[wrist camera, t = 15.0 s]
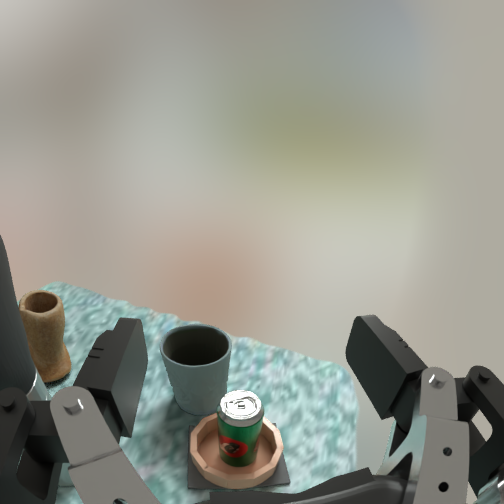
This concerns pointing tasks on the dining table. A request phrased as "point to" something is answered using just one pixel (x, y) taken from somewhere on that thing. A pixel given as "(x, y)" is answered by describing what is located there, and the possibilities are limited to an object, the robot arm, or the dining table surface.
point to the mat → (200, 482)
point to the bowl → (228, 476)
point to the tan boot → (45, 333)
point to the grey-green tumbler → (197, 366)
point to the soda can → (239, 427)
